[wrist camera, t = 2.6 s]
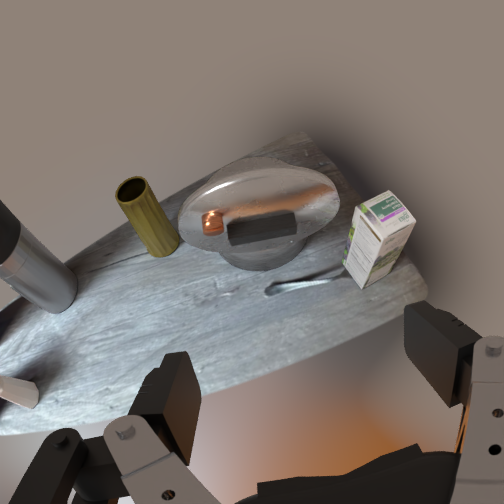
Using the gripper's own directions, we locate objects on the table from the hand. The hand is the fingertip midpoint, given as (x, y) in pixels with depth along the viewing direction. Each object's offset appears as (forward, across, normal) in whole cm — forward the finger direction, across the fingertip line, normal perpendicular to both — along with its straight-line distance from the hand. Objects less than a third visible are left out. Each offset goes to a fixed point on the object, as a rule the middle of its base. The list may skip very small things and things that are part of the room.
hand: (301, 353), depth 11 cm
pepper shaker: (+27, +46, +20) cm, 56 cm away
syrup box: (+36, -15, +10) cm, 41 cm away
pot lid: (+25, 0, -3) cm, 25 cm away
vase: (+45, +17, +1) cm, 48 cm away
